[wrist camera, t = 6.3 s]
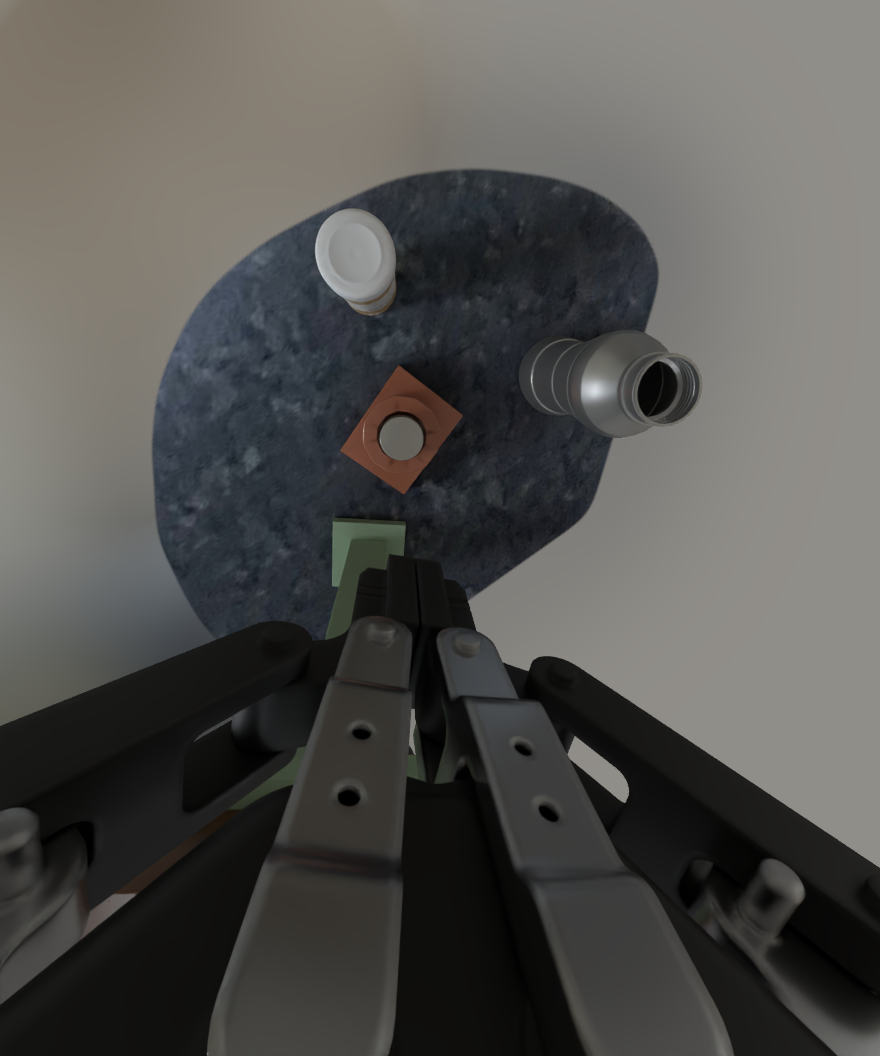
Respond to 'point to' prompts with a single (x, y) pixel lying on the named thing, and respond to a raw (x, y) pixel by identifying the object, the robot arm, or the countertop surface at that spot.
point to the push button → (401, 437)
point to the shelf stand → (345, 607)
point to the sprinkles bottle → (358, 260)
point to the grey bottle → (611, 382)
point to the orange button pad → (408, 400)
